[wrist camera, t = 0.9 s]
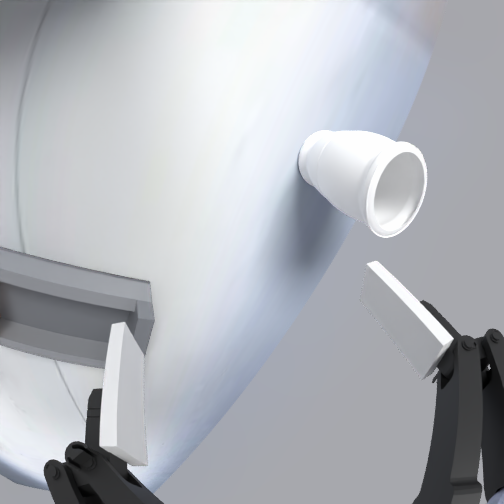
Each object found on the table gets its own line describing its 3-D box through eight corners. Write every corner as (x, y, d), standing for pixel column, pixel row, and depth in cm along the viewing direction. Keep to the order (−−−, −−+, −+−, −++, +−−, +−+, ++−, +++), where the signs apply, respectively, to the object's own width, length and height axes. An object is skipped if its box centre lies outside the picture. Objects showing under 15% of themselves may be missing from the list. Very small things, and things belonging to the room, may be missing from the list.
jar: (335, 199, 41) (406, 243, 29) (280, 184, 36) (351, 231, 24) (357, 137, 37) (437, 162, 25) (304, 112, 32) (390, 126, 20)
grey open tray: (-22, 240, 22) (-47, 270, 15) (149, 281, 36) (154, 320, 30) (-12, 319, 27) (-25, 353, 20) (132, 351, 41) (136, 389, 34)
